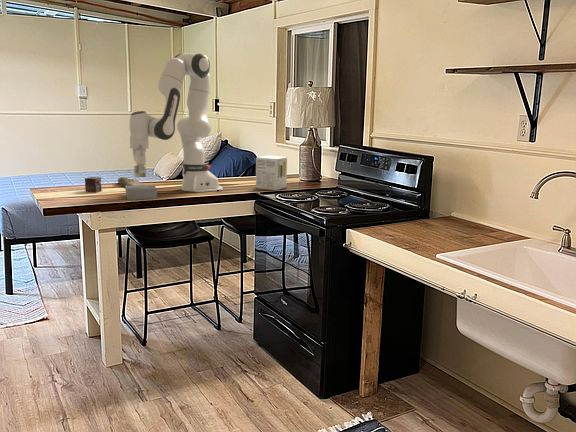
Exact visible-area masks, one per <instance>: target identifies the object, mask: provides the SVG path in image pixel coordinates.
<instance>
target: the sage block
mask: <svg viewBox="0 0 576 432" xmlns="http://www.w3.org/2000/svg"><path fill="white" fill-rule="evenodd" d="M146 169H147V167H146V165H144V166H143V173H142V174H139V167H138V166H137V165H134V166H133V172H134V173H133V176H134V178H147V177H146V176H147V174H146V173H147V172H146Z"/></svg>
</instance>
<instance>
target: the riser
mask: <svg viewBox="0 0 576 432" xmlns="http://www.w3.org/2000/svg"><path fill="white" fill-rule="evenodd" d="M124 187H125V197H126V199H127V201H132V200H151V199H152V200H154V199H157V200H158V188H157V187H156V185H155V184H145V185H135V186H124Z"/></svg>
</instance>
